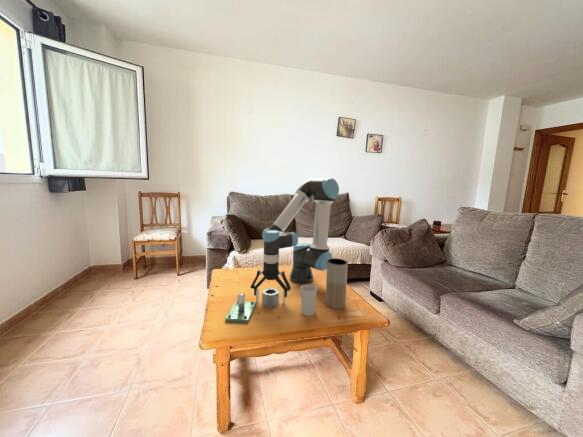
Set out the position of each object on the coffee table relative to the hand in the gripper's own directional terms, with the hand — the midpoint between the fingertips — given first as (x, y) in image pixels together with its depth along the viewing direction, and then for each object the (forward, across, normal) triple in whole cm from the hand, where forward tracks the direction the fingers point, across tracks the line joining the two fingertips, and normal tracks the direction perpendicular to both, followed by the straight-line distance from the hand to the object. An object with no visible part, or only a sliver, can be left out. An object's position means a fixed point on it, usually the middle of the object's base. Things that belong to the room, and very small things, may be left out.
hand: (270, 302), depth 121 cm
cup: (+1, -19, +7) cm, 20 cm away
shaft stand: (0, +12, +11) cm, 16 cm away
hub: (0, 0, 0) cm, 0 cm away
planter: (0, -33, -2) cm, 33 cm away
